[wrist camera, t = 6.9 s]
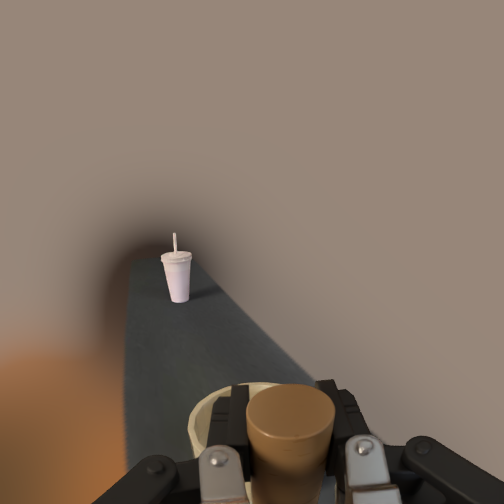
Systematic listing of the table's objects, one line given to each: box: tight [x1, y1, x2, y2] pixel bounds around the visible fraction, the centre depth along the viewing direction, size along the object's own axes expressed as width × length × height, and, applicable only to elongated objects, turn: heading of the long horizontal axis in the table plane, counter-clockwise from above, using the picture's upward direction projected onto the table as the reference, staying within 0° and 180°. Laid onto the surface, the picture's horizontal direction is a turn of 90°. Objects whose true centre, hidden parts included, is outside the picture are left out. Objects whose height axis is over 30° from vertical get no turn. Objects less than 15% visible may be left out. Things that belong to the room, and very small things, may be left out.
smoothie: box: [161, 233, 192, 303], centre depth 64 cm, size 6×6×14 cm
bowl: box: [188, 382, 281, 504], centre depth 22 cm, size 11×11×6 cm
